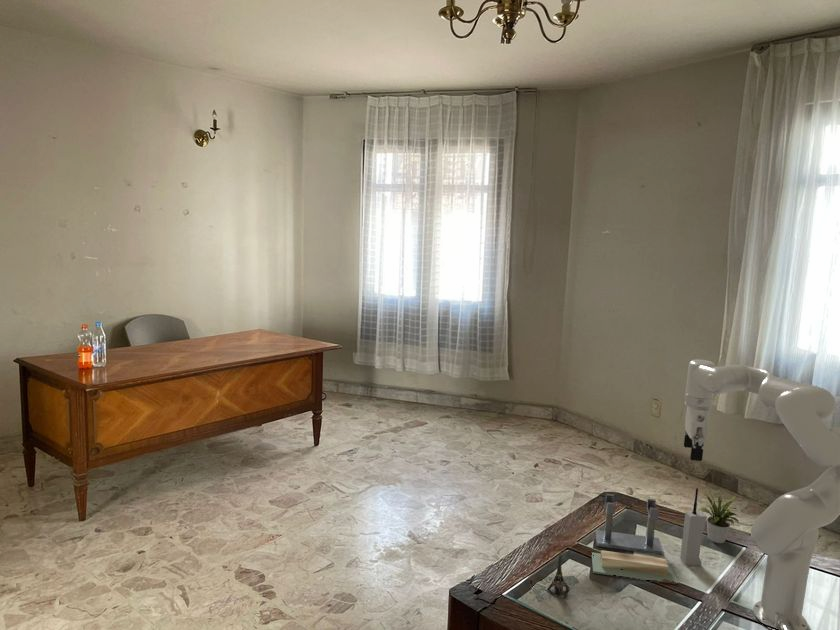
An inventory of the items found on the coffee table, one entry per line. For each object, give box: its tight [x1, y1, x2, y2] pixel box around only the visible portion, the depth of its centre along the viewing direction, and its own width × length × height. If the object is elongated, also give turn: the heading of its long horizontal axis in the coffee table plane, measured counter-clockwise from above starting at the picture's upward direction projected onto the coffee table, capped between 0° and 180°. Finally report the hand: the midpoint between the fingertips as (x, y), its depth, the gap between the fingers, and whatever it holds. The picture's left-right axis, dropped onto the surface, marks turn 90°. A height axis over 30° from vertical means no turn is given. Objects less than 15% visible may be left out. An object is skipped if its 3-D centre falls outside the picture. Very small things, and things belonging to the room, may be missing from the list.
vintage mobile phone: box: [680, 488, 708, 567], centre depth 184 cm, size 4×5×25 cm
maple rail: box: [600, 550, 668, 576], centre depth 182 cm, size 4×19×3 cm, turn 78°
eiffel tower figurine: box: [531, 550, 580, 602], centre depth 172 cm, size 15×10×13 cm
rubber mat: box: [591, 551, 679, 584], centre depth 183 cm, size 10×24×1 cm, turn 77°
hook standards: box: [595, 493, 664, 556], centre depth 195 cm, size 8×20×15 cm, turn 77°
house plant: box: [693, 492, 742, 544], centre depth 198 cm, size 14×14×16 cm
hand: (692, 453), depth 184 cm, fingers open, 9 cm apart
